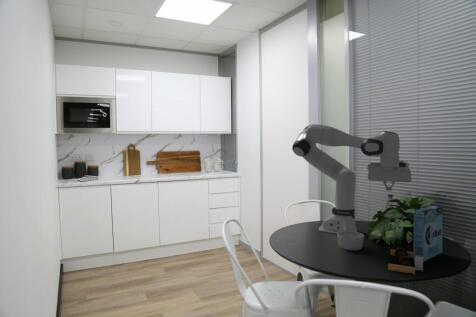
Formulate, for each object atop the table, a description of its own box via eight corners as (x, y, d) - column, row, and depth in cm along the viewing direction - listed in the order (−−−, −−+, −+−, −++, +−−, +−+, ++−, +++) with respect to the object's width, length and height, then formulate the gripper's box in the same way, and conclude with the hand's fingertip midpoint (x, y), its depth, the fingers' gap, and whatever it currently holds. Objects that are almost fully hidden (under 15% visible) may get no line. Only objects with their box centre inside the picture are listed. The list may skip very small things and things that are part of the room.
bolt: (404, 273, 139) (399, 260, 153) (416, 269, 137) (409, 256, 152) (397, 261, 139) (392, 249, 154) (408, 256, 138) (402, 245, 152)
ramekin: (366, 252, 161) (366, 238, 161) (338, 250, 164) (338, 237, 163) (361, 244, 174) (361, 231, 174) (335, 242, 176) (336, 230, 176)
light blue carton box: (423, 262, 147) (424, 212, 146) (412, 259, 151) (413, 210, 150) (442, 253, 158) (443, 207, 157) (431, 251, 162) (432, 205, 161)
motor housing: (388, 270, 138) (388, 254, 137) (390, 254, 157) (390, 240, 157) (423, 275, 132) (423, 259, 132) (421, 258, 151) (421, 244, 151)
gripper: (366, 162, 167) (366, 189, 168) (412, 164, 157) (411, 192, 158) (368, 162, 172) (367, 188, 173) (411, 163, 163) (411, 190, 164)
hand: (388, 190), depth 165 cm, fingers closed
